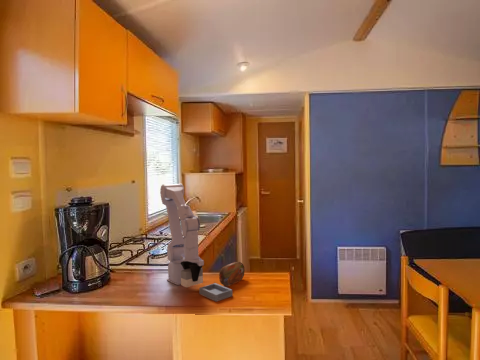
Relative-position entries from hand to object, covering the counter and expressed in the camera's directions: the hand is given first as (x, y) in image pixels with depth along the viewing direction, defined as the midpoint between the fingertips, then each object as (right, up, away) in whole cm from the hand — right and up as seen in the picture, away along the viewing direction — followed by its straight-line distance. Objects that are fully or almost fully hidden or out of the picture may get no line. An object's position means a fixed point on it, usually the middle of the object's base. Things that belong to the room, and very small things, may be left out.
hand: (192, 279), depth 143 cm
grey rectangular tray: (+10, -5, -5) cm, 12 cm away
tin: (+16, -4, +9) cm, 19 cm away
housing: (0, -2, 0) cm, 2 cm away
